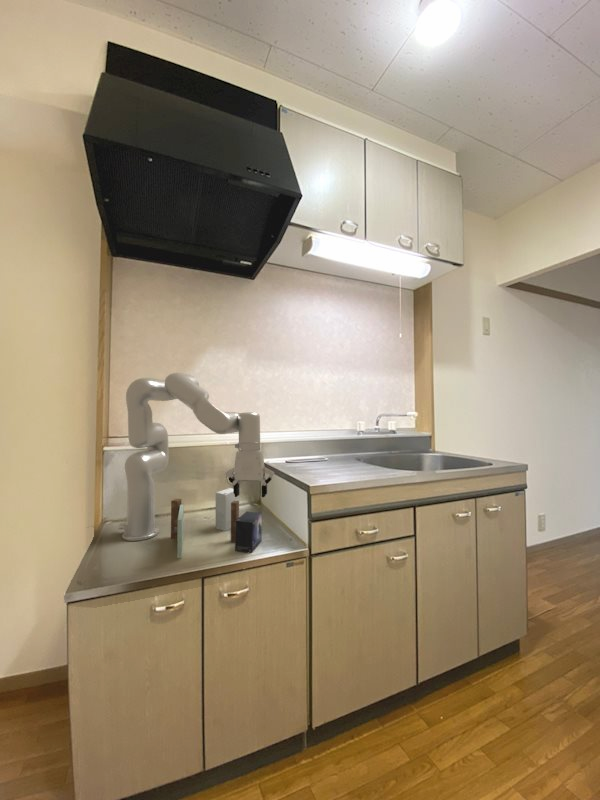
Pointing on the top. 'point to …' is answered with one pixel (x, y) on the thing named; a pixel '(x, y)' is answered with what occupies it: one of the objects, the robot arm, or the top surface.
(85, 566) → the top surface
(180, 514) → the door
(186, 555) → the top surface
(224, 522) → the skincare box
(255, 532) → the small box
